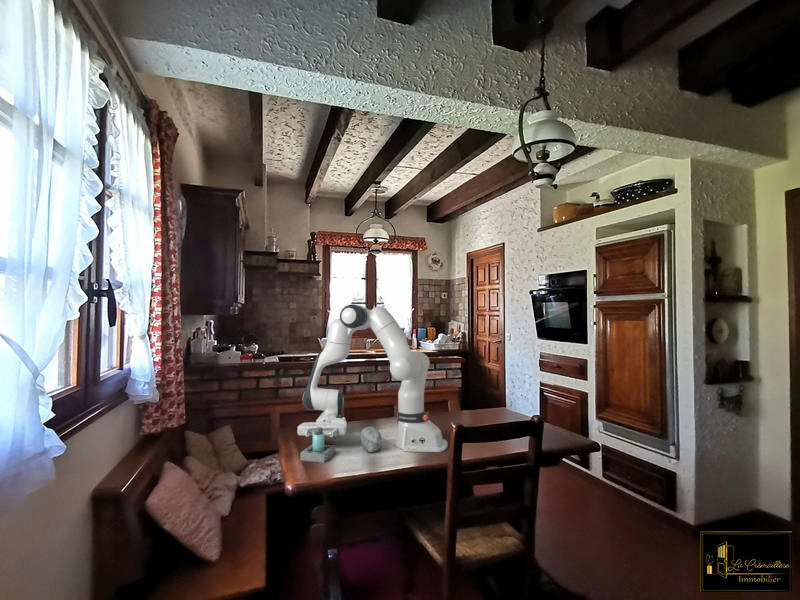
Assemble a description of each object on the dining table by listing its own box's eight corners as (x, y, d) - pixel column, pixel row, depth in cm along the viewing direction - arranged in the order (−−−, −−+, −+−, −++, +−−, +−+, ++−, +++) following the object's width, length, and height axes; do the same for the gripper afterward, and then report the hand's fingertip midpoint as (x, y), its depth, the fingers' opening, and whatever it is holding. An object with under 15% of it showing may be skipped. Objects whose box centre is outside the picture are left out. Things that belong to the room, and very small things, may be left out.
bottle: (326, 455, 155) (326, 427, 155) (321, 459, 151) (321, 430, 151) (315, 454, 156) (315, 426, 156) (310, 458, 152) (310, 429, 152)
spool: (355, 435, 169) (366, 416, 168) (374, 444, 171) (385, 425, 169) (354, 454, 156) (366, 433, 154) (375, 463, 157) (387, 443, 156)
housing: (335, 453, 157) (335, 445, 157) (324, 462, 147) (324, 454, 147) (312, 451, 160) (312, 443, 160) (300, 460, 150) (300, 452, 150)
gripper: (301, 417, 169) (293, 427, 155) (349, 417, 169) (344, 426, 155) (301, 432, 169) (293, 443, 155) (349, 432, 169) (344, 442, 155)
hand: (319, 434), depth 155 cm, fingers open, 8 cm apart
